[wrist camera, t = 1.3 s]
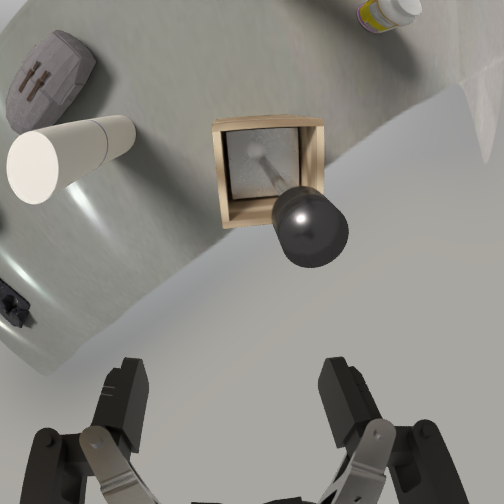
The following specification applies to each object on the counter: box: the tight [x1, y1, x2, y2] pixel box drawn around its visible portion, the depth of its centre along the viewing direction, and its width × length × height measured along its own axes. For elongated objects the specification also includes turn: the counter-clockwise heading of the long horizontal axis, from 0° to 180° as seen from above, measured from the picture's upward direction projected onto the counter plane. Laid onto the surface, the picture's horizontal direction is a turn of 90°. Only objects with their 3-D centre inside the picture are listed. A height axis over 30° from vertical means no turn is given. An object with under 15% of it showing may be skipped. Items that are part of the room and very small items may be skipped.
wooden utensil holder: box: [212, 115, 324, 229], centre depth 37 cm, size 12×12×18 cm
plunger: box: [226, 127, 349, 268], centre depth 25 cm, size 9×9×22 cm
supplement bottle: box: [357, 0, 422, 33], centre depth 28 cm, size 7×7×13 cm
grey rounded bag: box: [6, 30, 96, 135], centre depth 30 cm, size 15×8×20 cm
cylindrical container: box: [7, 115, 136, 204], centre depth 30 cm, size 7×7×25 cm
